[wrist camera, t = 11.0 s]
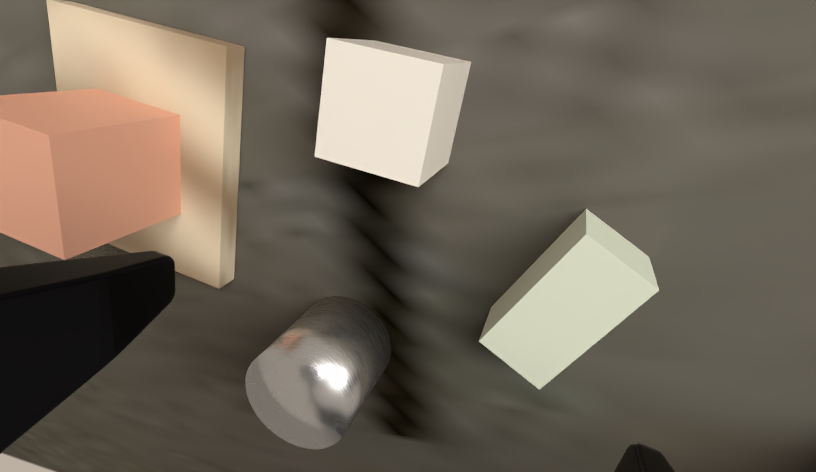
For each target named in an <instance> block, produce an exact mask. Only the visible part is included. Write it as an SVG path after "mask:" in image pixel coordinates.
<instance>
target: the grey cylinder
mask: <svg viewBox="0 0 816 472" xmlns="http://www.w3.org/2000/svg"><path fill="white" fill-rule="evenodd" d="M390 357H391V341H390V337H389V334H388V332H387V330H386V328H385V326H384V324H383V323H382V321H381V320H380V319H379V318H378V316H377V315H376V314H375V313H374V312H373V311H372V310H370V309H369V308H368V307H366V306H365V305H363V304H362V303H360V302H358V301H355V300H353V299H350V298H346V297H338V296H334V297H327V298H324V299H321V300H320V301H318V302H316V303H315V304H314V305H313V306H312V307H311V308H310V309H308V310H307V311H306V312H305V313H304V314H303V315H302V316H301V317H300V318H299V319H298V320H297V321H296V322H294V323H293V324H292V325H291V326H290V327H289V328H288V329H287V330H286V331H285V332H284V333H283V334H282V335H280V336H279V337H278V338H277V339H276V340H275V341H274V342H273V343H272V344H271V345H270V346H269V347H268V348H266V349H265V350H264V351H263V352H262V353H261V354H260V355H259V356H258V357H257V358H256V359H255V360H254V361H253V362H252V363H251V364H250V366H249V368H248V370H247V373H246V379H245V386H246V393H247V396H248V399H249V402H250V404H251V406H252V408H253V410H254V412H255V413H256V415H257V416H258V417H259V419H260V420H261V421H262V422H263V423H264V425H265V426H266V427H267V428H268V429H270V430H271V431H272V432H273V433H274V434H276V435H277V436H278V437H280V438H281V439H283V440H285V441H287V442H289V443H291V444H293V445H295V446H299V447H302V448H307V449H323V448H327V447H330V446H332V445H334V444H335V443H337V442H338V441H339V440H340V439H341V438H342V436H343V435H344V433H345V432H346V430H347V428H348V427H349V425H350V424H351V422H352V421H353V419H354V417H355V416H356V414H357V413H358V411H359V409H360V408H361V406H362V405H363V403H364V402H365V400H366V398H367V397H368V395H369V394H370V392H371V391H372V389H373V387H374V386H375V384H376V383H377V381H378V379H379V378H380V376H381V375H382V373H383V372H384V370H385V368H386V367H387V365H388V363H389V361H390Z"/></svg>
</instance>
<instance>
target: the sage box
mask: <svg viewBox="0 0 816 472" xmlns="http://www.w3.org/2000/svg"><path fill="white" fill-rule="evenodd" d="M658 291H659V288H658V285H657V282H656V278H655V275H654V272H653V268H652V265H651V262H650V259H649V257H648V256H647V255H646V254H644V253H643V252H642V251H640V250H639V249H638V248H637V247H635V246H634V245H633V244H631V243H630V242H629V241H627V240H626V239H625V238H624V237H622V236H621V235H620V234H618V233H617V232H616V231H614V230H613V229H612V228H611V227H609V226H608V225H607V224H605V223H604V222H603V221H601V220H600V219H599V218H598V217H596V216H595V215H594V214H592V213H591V212H590V211H589V210H587V209H585V210H584V211H583V213H582V214H581V215H580V216H579V217H578V218H577V219H576V220H575V221H574V222H573V223H572V224H571V225H570V226H569V227H568V228H567V229H566V230H565V231H564V232H563V233H562V234H561V235H560V236H559V237H558V238H557V239H556V240H555V242H554V243H553V244H552V245H551V246H550V247H549V248H548V249H547V250H546V251H545V252H544V253H543V254H542V255H541V256H540V257H539V258H538V259H537V260H536V261H535V262H534V263H533V264H532V265H531V266H530V267H529V268H528V269H527V271H526V272H525V273H524V274H523V275H522V276H521V277H520V278H519V279H518V280H517V281H516V282H515V283H514V284H513V285H512V286H511V287H510V288H509V289H508V290H507V291H506V292H505V293H504V294H503V295H502V296H501V297H500V298H499V300H498V301H497V302H496V303H495V304H494V305H493V306H492V307H491V309H490V312H489V315H488V317H487V320H486V323H485V325H484V328H483V331H482V334H481V336H480V339H479V342H480V343H481V344H483V345H484V346H485V347H486V348H488V349H489V350H490V351H491V352H493V353H494V354H495V355H497V356H498V357H499V358H500V359H502V360H503V361H504V362H505V363H507V364H508V365H509V366H510V367H512V368H513V369H514V370H515V371H517V372H518V373H519V374H520V375H522V376H523V377H524V378H525V379H527V380H528V381H529V382H530V383H532V384H533V385H534V386H535V387H537V388H538V389H539V390H540V389H541V388H542V387H543V386H544V385H546V384H547V383H548V382H549V381H550V380H552V379H553V378H554V377H555V376H556V375H558V374H559V373H560V372H561V371H562V370H564V369H565V368H566V367H567V366H568V365H570V364H571V363H572V362H573V361H574V360H576V359H577V358H578V357H579V356H581V355H582V354H583V353H584V352H585V351H587V350H588V349H589V348H590V347H591V346H593V345H594V344H595V343H596V342H597V341H599V340H600V339H601V338H602V337H603V336H605V335H606V334H607V333H608V332H609V331H611V330H612V329H613V328H614V327H615V326H617V325H618V324H619V323H620V322H621V321H623V320H624V319H625V318H626V317H627V316H629V315H630V314H631V313H632V312H634V311H635V310H636V309H637V308H638V307H640V306H641V305H642V304H643V303H644V302H646V301H647V300H648V299H649V298H650V297H652V296H653V295H654V294H655V293H656V292H658Z"/></svg>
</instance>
